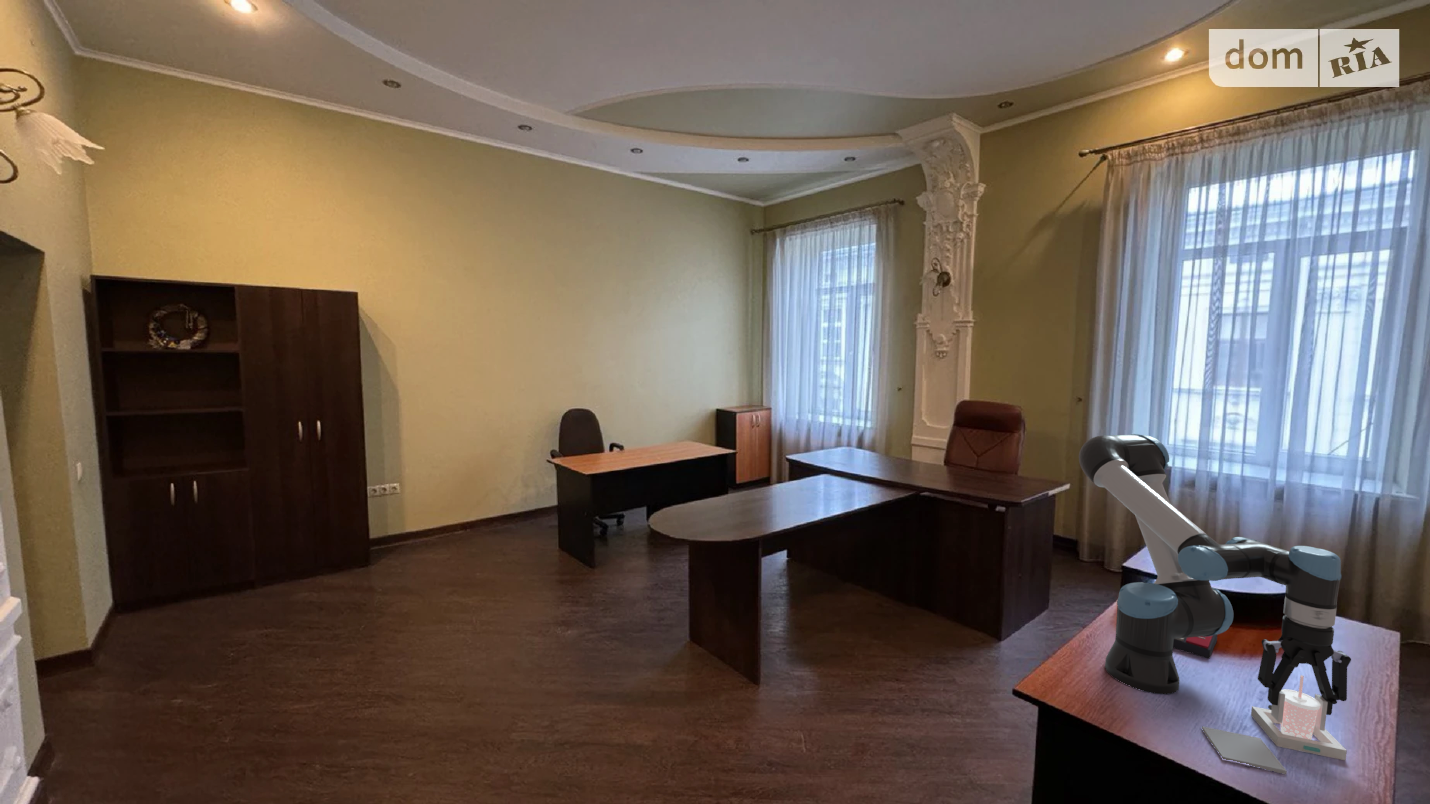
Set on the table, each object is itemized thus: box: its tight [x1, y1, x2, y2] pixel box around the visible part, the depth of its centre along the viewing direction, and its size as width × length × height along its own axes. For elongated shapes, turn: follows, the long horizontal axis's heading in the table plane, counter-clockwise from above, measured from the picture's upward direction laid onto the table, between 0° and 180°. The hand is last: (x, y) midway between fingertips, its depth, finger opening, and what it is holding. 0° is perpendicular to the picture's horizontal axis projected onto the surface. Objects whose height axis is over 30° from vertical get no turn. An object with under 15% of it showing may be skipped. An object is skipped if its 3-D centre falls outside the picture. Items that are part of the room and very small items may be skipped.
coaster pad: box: [1201, 725, 1288, 776], centre depth 117 cm, size 10×10×1 cm
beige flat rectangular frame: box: [1250, 704, 1348, 761], centre depth 123 cm, size 11×16×2 cm
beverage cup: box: [1280, 674, 1321, 740], centre depth 120 cm, size 6×6×14 cm
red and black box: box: [1173, 634, 1218, 660], centre depth 160 cm, size 11×4×15 cm
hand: (1297, 722), depth 121 cm, fingers closed on beverage cup, 6 cm apart
